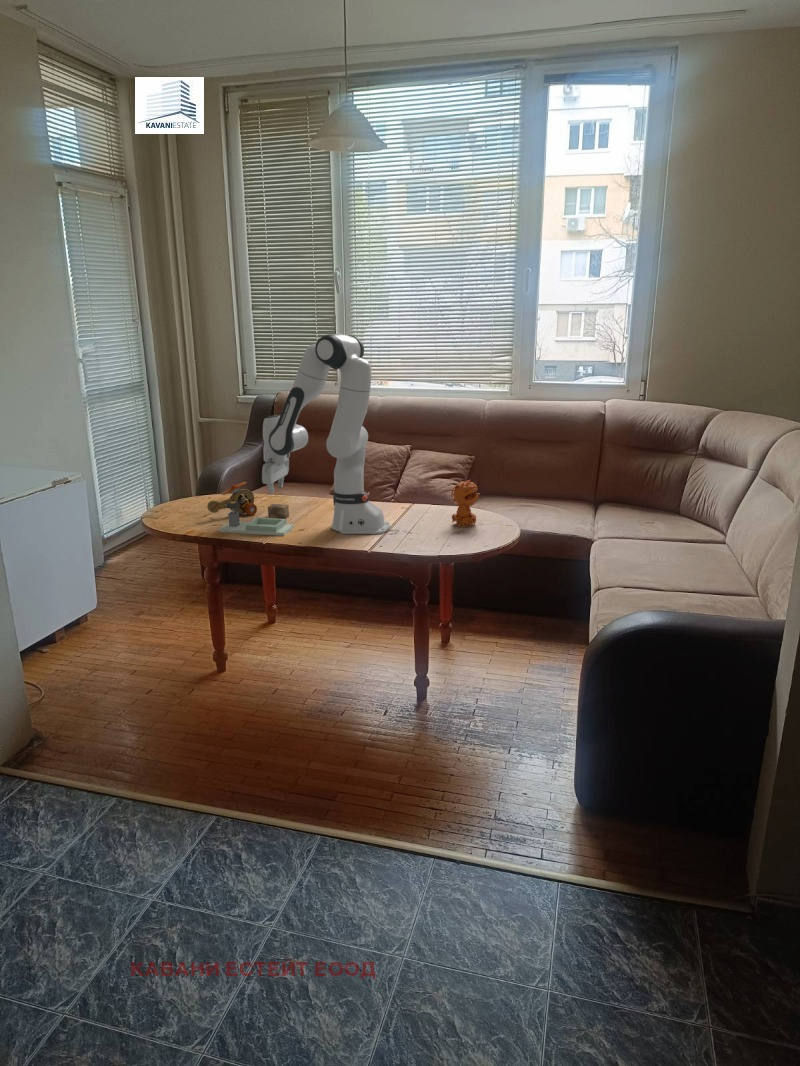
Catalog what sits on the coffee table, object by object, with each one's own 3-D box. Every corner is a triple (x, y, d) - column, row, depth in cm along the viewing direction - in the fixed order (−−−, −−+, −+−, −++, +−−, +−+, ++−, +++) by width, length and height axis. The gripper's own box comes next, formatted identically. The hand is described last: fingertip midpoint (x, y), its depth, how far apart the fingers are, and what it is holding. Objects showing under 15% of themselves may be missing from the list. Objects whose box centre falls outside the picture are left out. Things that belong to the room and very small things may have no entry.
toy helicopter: (259, 514, 294) (257, 481, 290) (215, 524, 280) (212, 489, 276) (248, 510, 299) (246, 478, 295) (204, 519, 285) (201, 486, 281)
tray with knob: (294, 527, 275) (293, 511, 273) (284, 535, 264) (283, 519, 263) (230, 523, 280) (229, 508, 278) (218, 531, 269) (217, 516, 268)
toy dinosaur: (479, 529, 272) (480, 482, 267) (450, 528, 273) (451, 482, 268) (478, 521, 283) (479, 476, 278) (450, 520, 284) (451, 476, 278)
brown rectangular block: (289, 516, 290) (288, 504, 289) (285, 519, 286) (284, 507, 284) (272, 515, 292) (272, 503, 290) (268, 519, 287) (267, 506, 286)
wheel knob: (241, 514, 274) (240, 500, 272) (236, 517, 270) (235, 503, 268) (230, 514, 275) (229, 500, 273) (225, 517, 271) (224, 503, 269)
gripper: (272, 461, 271) (273, 497, 275) (291, 452, 290) (292, 485, 294) (257, 460, 272) (258, 495, 276) (276, 451, 291) (277, 484, 296)
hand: (276, 490), depth 286 cm, fingers open, 8 cm apart
